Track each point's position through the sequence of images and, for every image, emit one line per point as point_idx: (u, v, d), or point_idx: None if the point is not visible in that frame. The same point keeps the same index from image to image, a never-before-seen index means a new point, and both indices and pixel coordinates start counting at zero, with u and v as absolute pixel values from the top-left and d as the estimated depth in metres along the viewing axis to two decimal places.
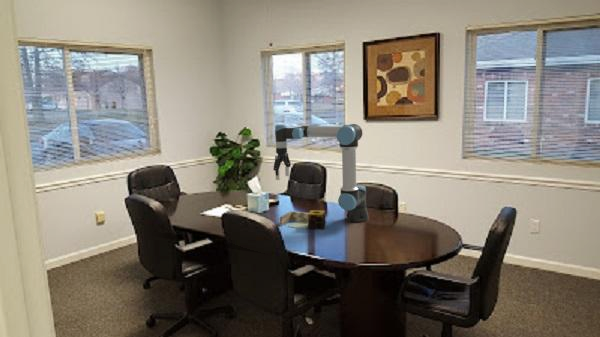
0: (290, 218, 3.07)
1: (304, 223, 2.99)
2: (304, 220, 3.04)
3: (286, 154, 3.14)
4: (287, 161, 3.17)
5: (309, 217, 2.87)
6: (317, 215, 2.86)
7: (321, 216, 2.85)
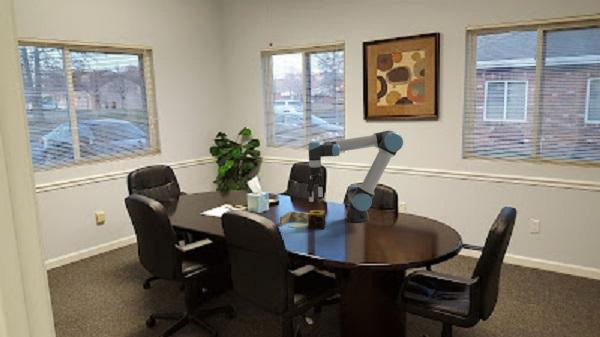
0: (290, 218, 3.07)
1: (304, 223, 2.99)
2: (304, 220, 3.04)
3: (319, 173, 2.91)
4: None
5: (309, 217, 2.87)
6: (317, 215, 2.86)
7: (321, 216, 2.85)
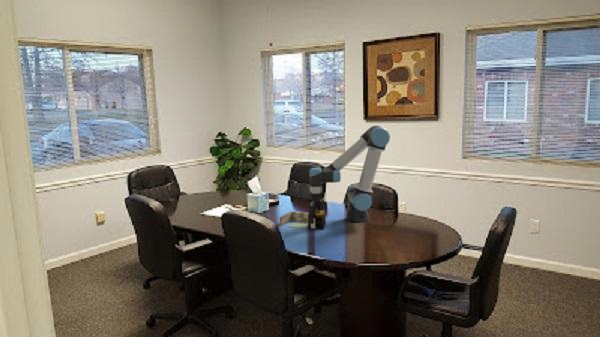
0: (290, 218, 3.07)
1: (304, 223, 2.99)
2: (304, 220, 3.04)
3: (320, 199, 2.94)
4: (321, 206, 2.96)
5: None
6: (317, 215, 2.86)
7: (321, 216, 2.85)
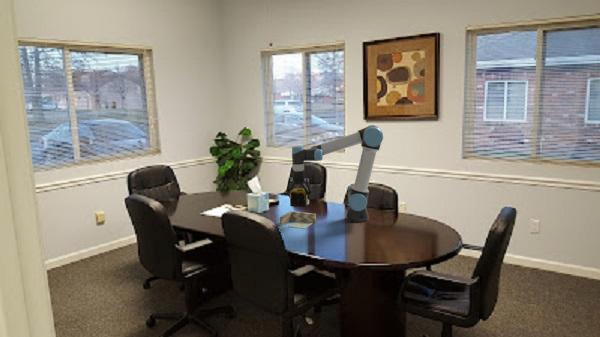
0: (290, 218, 3.07)
1: (304, 223, 2.99)
2: (304, 220, 3.04)
3: (306, 179, 2.89)
4: None
5: None
6: None
7: None
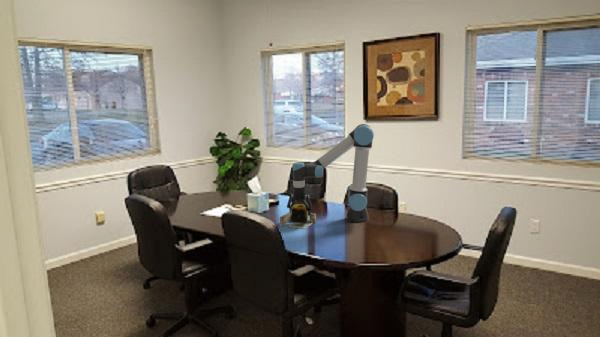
0: (290, 218, 3.07)
1: (304, 223, 2.99)
2: None
3: None
4: None
5: None
6: None
7: None
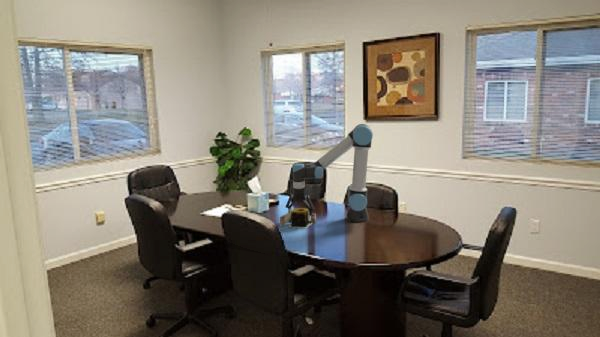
0: None
1: None
2: None
3: None
4: (310, 204, 2.92)
5: None
6: None
7: None
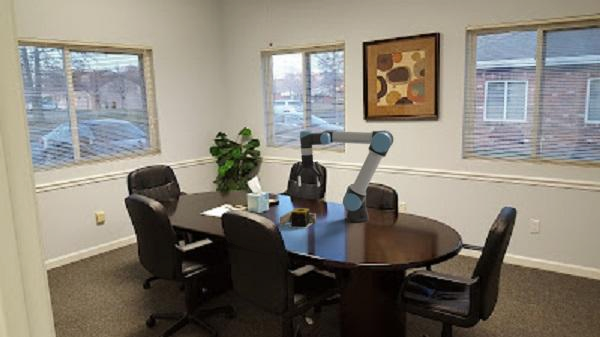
0: (290, 218, 3.07)
1: None
2: None
3: (315, 162, 2.93)
4: None
5: None
6: None
7: None
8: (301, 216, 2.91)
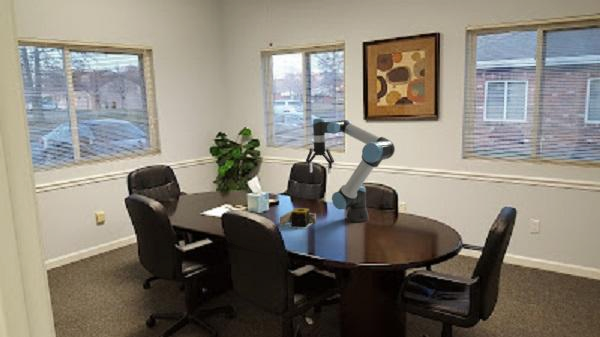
0: (290, 218, 3.07)
1: None
2: None
3: (326, 150, 3.01)
4: (330, 158, 3.01)
5: None
6: None
7: None
8: (301, 216, 2.91)
